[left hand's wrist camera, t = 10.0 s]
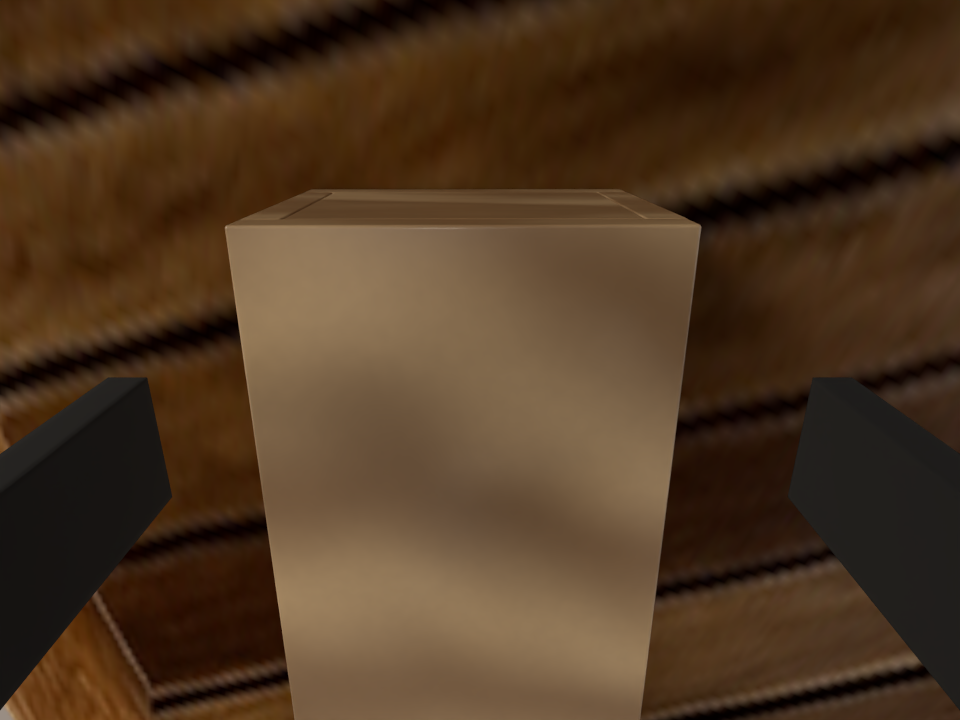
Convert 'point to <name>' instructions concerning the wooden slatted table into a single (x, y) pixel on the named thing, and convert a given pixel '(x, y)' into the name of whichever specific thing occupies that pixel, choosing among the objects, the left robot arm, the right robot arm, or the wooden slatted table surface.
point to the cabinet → (465, 443)
